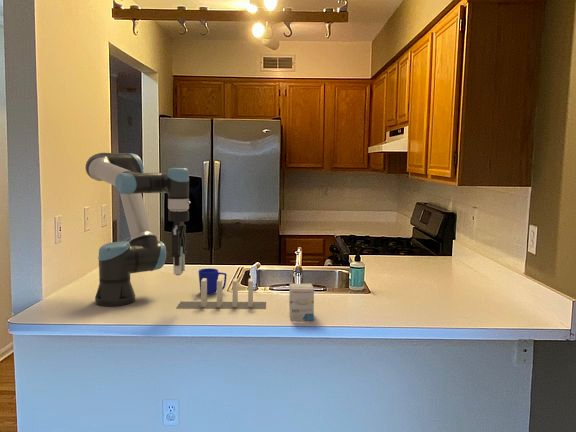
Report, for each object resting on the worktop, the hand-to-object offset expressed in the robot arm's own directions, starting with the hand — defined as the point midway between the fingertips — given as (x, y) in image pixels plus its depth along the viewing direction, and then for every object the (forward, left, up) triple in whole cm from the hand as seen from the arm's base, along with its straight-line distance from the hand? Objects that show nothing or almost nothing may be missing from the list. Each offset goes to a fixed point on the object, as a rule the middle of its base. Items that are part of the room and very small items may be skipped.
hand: (179, 272), depth 192 cm
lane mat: (+15, +6, -15) cm, 22 cm away
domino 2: (+14, +6, -14) cm, 21 cm away
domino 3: (+20, +6, -14) cm, 26 cm away
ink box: (+45, -8, -15) cm, 48 cm away
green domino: (0, 0, -1) cm, 1 cm away
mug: (+9, +25, -15) cm, 31 cm away
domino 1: (+8, +6, -14) cm, 18 cm away
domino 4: (+26, +6, -14) cm, 31 cm away
